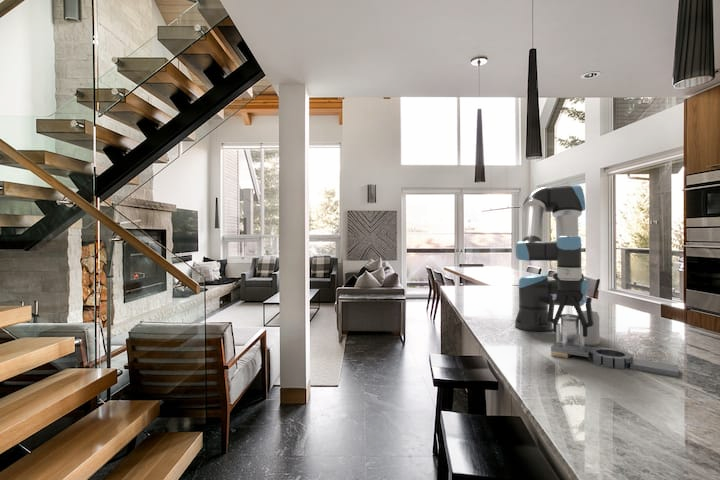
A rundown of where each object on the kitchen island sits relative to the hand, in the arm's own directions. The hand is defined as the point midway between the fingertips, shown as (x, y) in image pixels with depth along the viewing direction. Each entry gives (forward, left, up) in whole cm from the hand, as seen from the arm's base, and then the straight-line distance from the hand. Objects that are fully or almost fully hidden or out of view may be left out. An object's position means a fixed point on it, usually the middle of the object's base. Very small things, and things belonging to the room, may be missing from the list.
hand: (570, 343), depth 135 cm
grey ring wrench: (+13, -8, -2) cm, 15 cm away
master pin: (0, 0, -2) cm, 2 cm away
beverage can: (+4, +12, -2) cm, 13 cm away
